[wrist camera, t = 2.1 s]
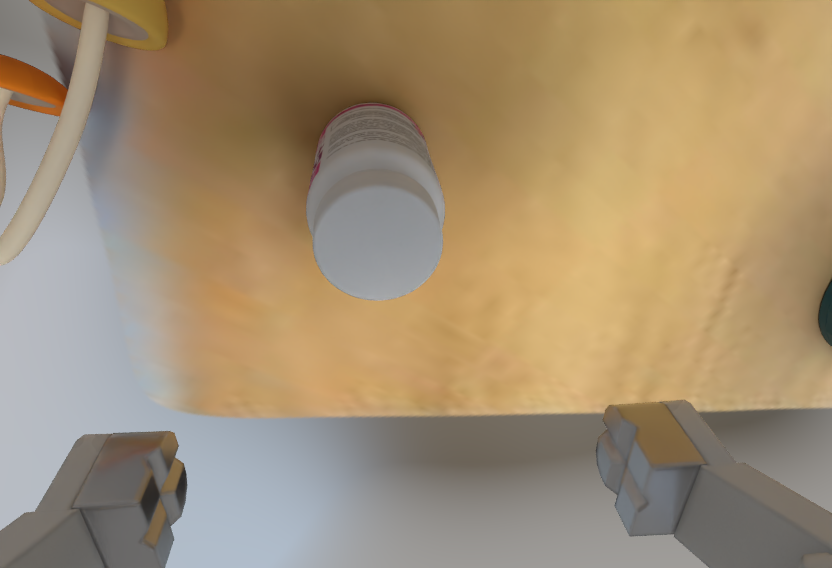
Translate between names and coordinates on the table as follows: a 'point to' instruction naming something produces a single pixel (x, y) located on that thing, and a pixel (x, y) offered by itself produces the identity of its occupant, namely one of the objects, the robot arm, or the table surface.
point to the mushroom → (69, 95)
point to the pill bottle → (375, 204)
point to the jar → (826, 315)
